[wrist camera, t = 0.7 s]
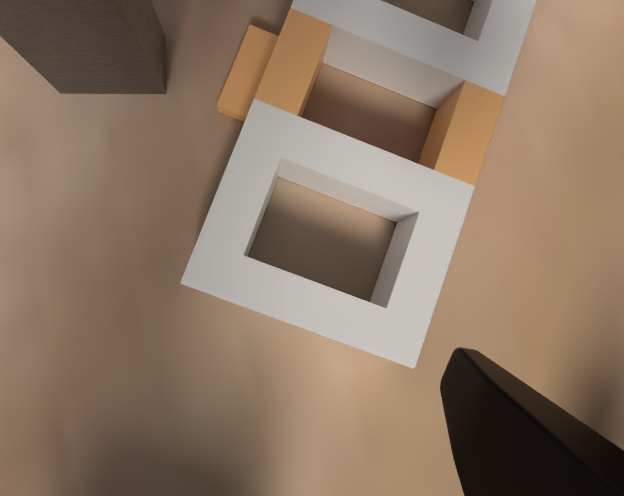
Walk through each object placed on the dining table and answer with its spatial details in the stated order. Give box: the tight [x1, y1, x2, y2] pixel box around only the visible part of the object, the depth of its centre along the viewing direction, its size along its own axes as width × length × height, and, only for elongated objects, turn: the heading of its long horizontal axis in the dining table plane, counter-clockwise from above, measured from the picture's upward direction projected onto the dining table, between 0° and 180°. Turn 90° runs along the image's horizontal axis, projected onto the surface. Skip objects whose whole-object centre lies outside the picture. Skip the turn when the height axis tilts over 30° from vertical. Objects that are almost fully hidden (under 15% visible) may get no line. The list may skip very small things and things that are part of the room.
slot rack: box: [180, 0, 537, 369], centre depth 22 cm, size 22×12×4 cm, turn 160°
